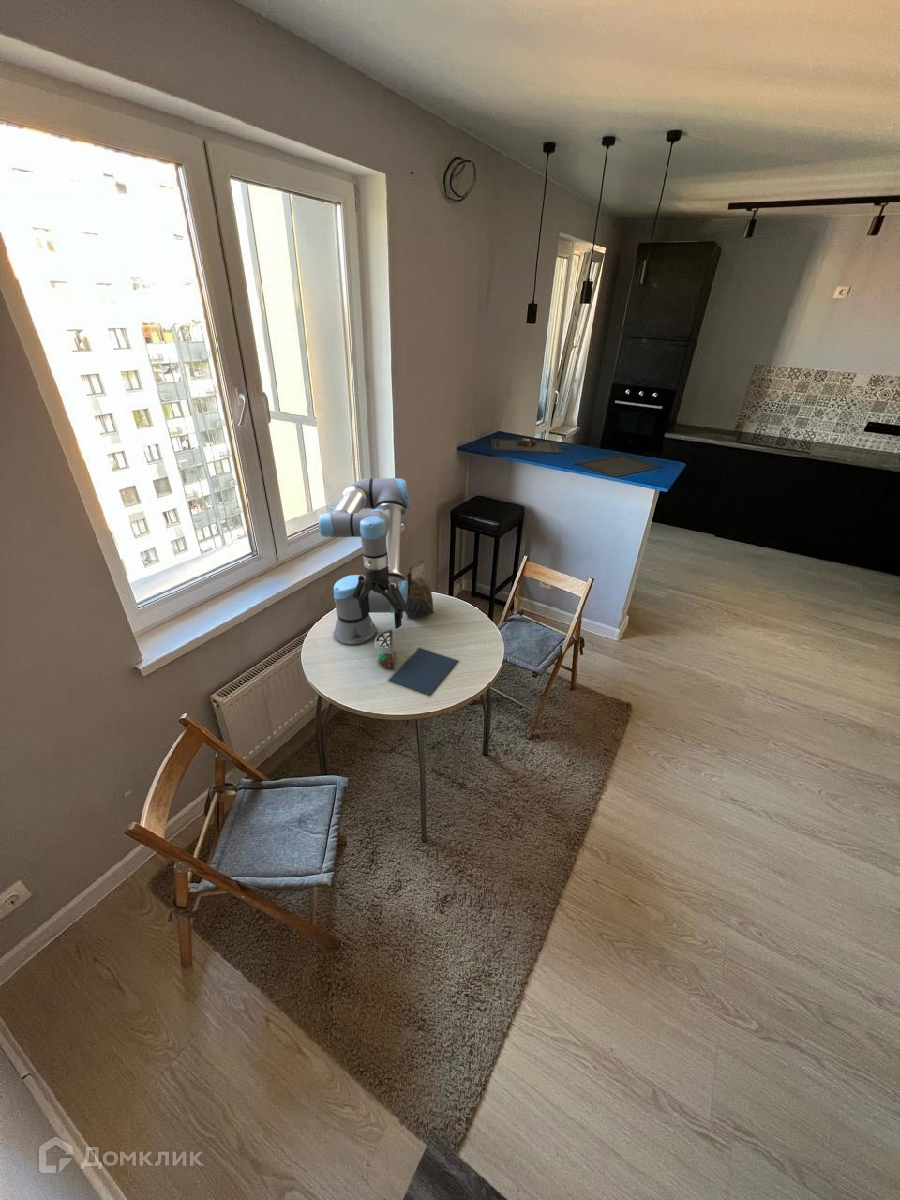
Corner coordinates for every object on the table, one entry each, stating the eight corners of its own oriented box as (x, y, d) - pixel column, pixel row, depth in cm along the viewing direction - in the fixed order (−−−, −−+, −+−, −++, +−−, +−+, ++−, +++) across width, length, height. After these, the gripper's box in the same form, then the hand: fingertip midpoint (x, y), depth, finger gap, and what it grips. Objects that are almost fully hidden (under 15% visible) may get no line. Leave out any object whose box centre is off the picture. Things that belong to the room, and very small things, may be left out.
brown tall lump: (405, 620, 197) (410, 585, 182) (394, 598, 204) (398, 563, 190) (434, 613, 202) (441, 579, 187) (422, 592, 209) (428, 557, 195)
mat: (389, 680, 166) (389, 679, 166) (419, 648, 181) (419, 647, 181) (430, 695, 160) (430, 694, 160) (458, 661, 175) (458, 660, 175)
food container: (377, 651, 180) (374, 628, 175) (394, 650, 180) (392, 628, 175) (375, 673, 170) (373, 650, 164) (393, 672, 170) (391, 649, 165)
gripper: (337, 562, 157) (345, 617, 168) (403, 579, 147) (407, 637, 158) (351, 553, 163) (358, 607, 174) (416, 569, 153) (418, 625, 164)
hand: (381, 621), depth 166 cm, fingers open, 13 cm apart
